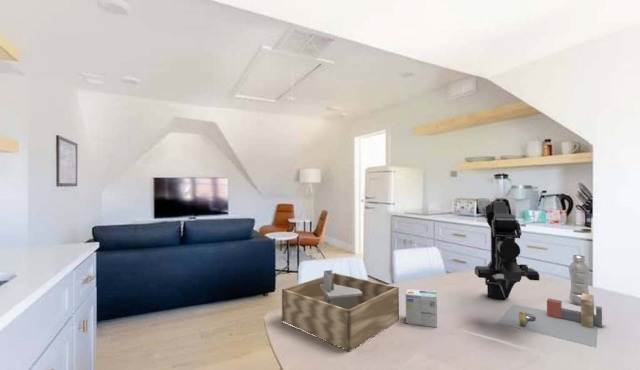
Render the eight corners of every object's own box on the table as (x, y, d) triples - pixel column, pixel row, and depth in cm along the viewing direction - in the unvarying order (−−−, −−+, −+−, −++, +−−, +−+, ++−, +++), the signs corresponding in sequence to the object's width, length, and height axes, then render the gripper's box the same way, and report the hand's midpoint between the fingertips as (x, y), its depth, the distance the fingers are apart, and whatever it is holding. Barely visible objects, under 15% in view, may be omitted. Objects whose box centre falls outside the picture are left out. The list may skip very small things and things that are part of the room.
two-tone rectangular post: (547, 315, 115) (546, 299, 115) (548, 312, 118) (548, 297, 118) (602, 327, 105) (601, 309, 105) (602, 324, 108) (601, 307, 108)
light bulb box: (437, 320, 115) (436, 290, 115) (437, 328, 108) (437, 296, 108) (406, 316, 118) (406, 287, 118) (405, 324, 112) (405, 293, 112)
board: (497, 325, 110) (497, 322, 110) (513, 305, 128) (513, 303, 128) (596, 350, 92) (596, 347, 92) (598, 323, 110) (598, 321, 110)
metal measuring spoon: (513, 324, 108) (513, 311, 109) (520, 314, 117) (520, 302, 117) (530, 328, 105) (530, 315, 105) (536, 318, 113) (536, 305, 114)
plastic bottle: (594, 308, 123) (593, 258, 124) (575, 307, 125) (574, 257, 125) (584, 303, 130) (583, 254, 130) (565, 302, 131) (564, 254, 131)
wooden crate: (282, 322, 114) (281, 289, 114) (334, 300, 135) (334, 272, 136) (349, 351, 93) (349, 311, 93) (398, 320, 115) (398, 287, 115)
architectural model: (317, 342, 100) (316, 285, 100) (303, 313, 123) (303, 267, 123) (383, 334, 105) (383, 280, 105) (358, 308, 128) (358, 263, 129)
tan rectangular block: (581, 325, 107) (580, 299, 107) (582, 318, 113) (582, 293, 113) (593, 328, 105) (592, 301, 105) (593, 320, 111) (593, 295, 111)
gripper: (482, 256, 103) (483, 304, 103) (547, 259, 99) (548, 308, 99) (473, 250, 114) (474, 293, 114) (531, 251, 110) (532, 296, 110)
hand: (506, 297), depth 109 cm, fingers closed
